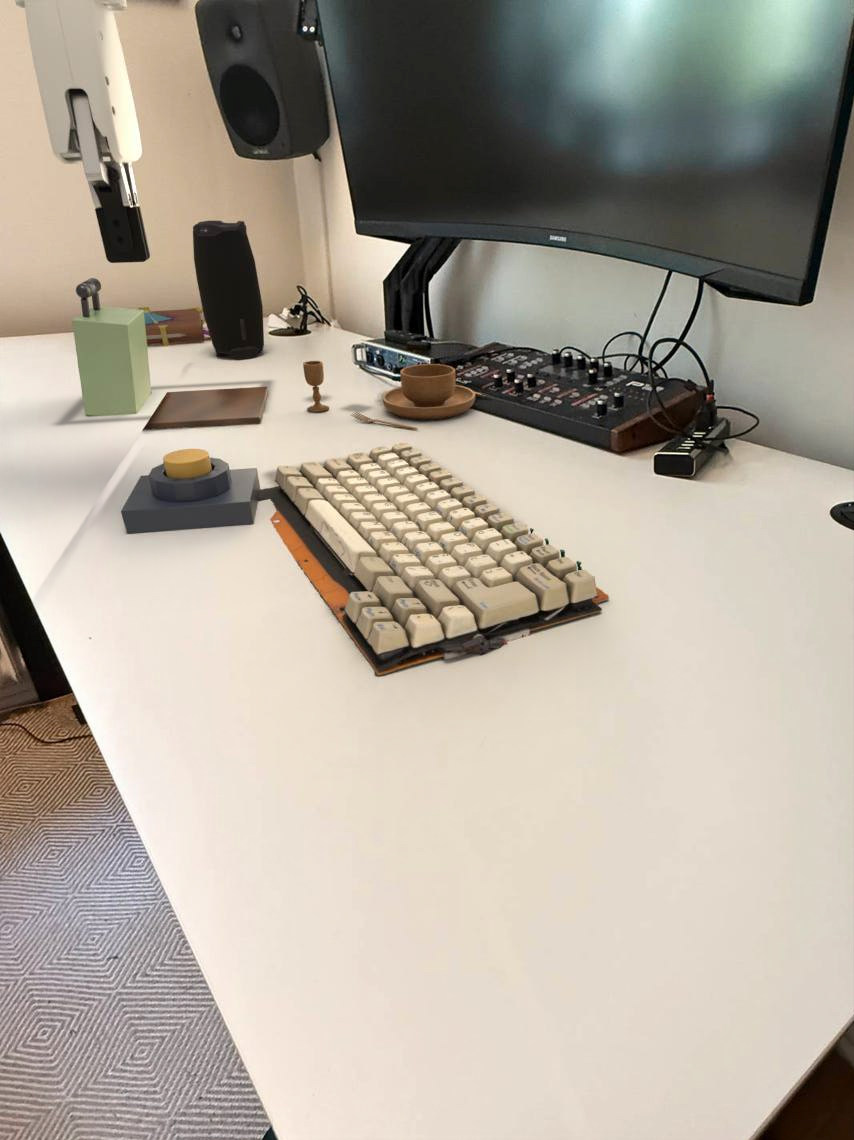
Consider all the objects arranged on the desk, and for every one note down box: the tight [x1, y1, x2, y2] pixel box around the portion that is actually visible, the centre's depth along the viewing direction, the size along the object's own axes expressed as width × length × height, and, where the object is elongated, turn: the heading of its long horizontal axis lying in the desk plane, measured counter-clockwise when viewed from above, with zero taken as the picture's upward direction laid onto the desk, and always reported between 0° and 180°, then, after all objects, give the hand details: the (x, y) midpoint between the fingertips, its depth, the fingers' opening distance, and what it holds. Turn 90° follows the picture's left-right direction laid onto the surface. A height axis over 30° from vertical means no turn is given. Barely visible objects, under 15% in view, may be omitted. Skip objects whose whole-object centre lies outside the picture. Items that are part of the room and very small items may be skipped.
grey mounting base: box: [120, 457, 261, 535], centre depth 74 cm, size 11×9×4 cm
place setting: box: [302, 360, 485, 430], centre depth 103 cm, size 18×20×6 cm
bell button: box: [162, 448, 212, 479], centre depth 73 cm, size 4×4×2 cm
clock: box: [71, 277, 152, 417], centre depth 99 cm, size 6×10×15 cm, turn 9°
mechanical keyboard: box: [258, 442, 610, 676], centre depth 68 cm, size 38×19×3 cm, turn 28°
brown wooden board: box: [142, 386, 269, 431], centre depth 104 cm, size 23×15×1 cm, turn 99°
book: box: [136, 306, 210, 347], centre depth 144 cm, size 16×25×5 cm, turn 107°
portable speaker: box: [192, 220, 265, 361], centre depth 127 cm, size 9×9×20 cm
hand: (129, 260), depth 67 cm, fingers closed
